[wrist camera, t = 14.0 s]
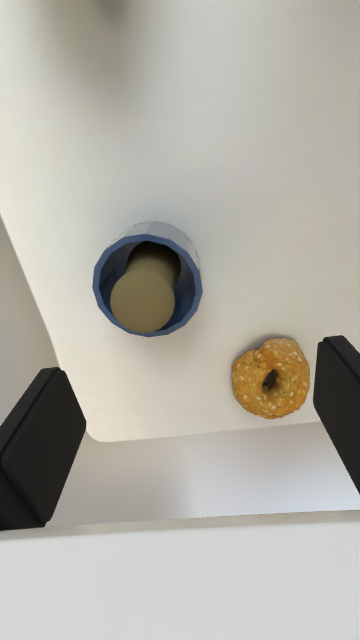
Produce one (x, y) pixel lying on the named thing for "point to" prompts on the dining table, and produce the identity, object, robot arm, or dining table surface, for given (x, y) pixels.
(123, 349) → the dining table surface
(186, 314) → the crock
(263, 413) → the bagel
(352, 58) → the dining table surface
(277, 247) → the dining table surface
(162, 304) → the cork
